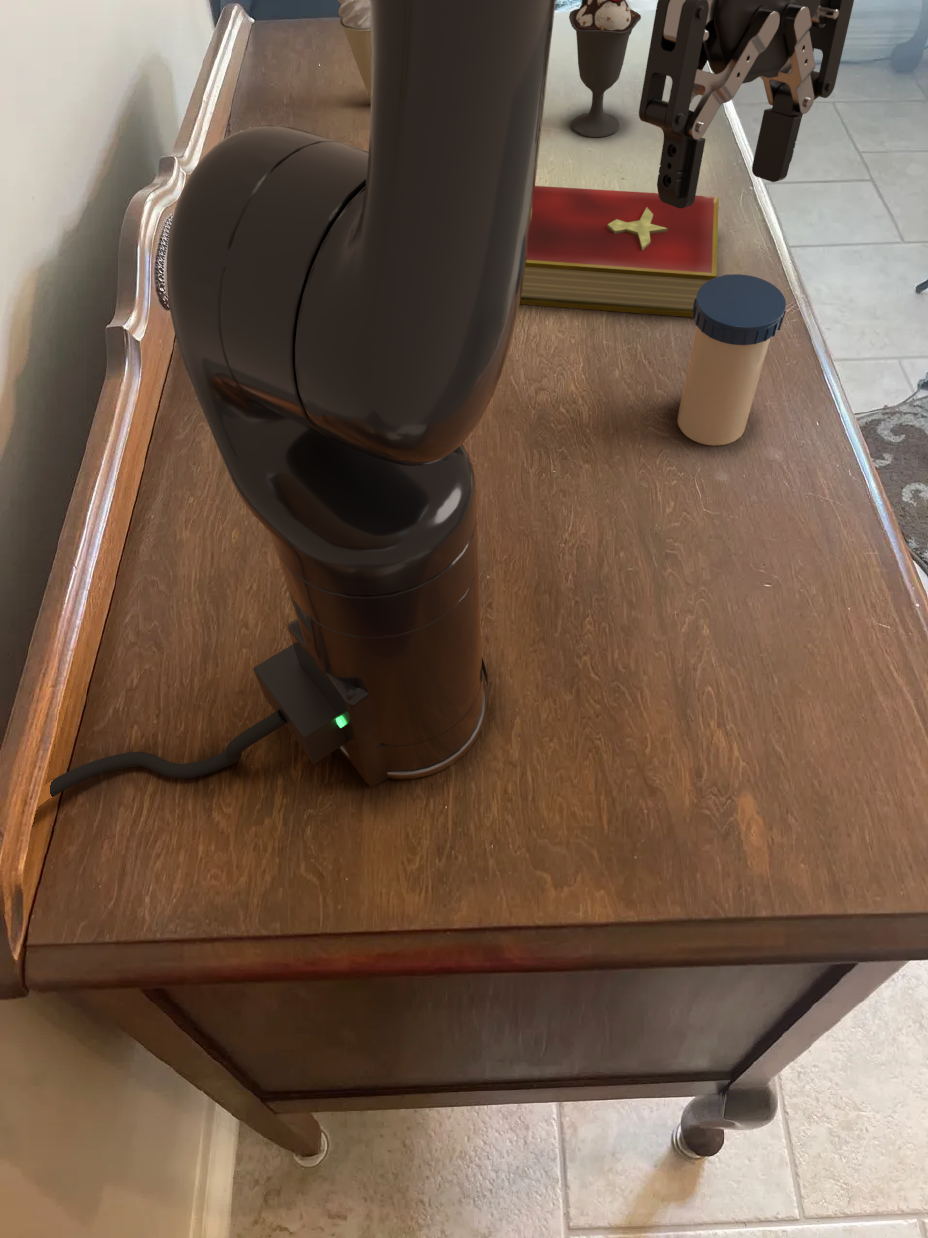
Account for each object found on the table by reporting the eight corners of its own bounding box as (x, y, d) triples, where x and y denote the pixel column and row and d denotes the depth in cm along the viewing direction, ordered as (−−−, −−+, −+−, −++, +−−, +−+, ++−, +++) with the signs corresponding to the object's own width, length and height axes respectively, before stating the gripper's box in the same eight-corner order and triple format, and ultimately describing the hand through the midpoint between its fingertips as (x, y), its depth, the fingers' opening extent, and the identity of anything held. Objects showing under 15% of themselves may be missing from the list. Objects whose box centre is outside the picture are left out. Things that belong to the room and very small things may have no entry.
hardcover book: (480, 220, 85) (479, 176, 82) (710, 235, 83) (719, 190, 79) (457, 298, 79) (455, 254, 75) (707, 318, 76) (717, 272, 72)
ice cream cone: (340, 106, 99) (317, -59, 87) (369, 87, 101) (351, -76, 89) (377, 118, 97) (359, -49, 85) (406, 98, 99) (392, -67, 87)
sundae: (625, 143, 92) (644, -29, 80) (559, 139, 93) (567, -32, 81) (631, 111, 96) (650, -58, 84) (568, 107, 97) (577, -60, 85)
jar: (711, 455, 67) (741, 339, 58) (663, 419, 69) (685, 302, 61) (759, 425, 68) (795, 308, 60) (710, 390, 71) (738, 273, 62)
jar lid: (738, 357, 59) (743, 339, 58) (673, 314, 62) (677, 296, 60) (800, 321, 61) (806, 303, 60) (734, 281, 64) (739, 262, 62)
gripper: (760, -153, 39) (690, 233, 50) (942, -157, 46) (845, 185, 57) (634, -162, 44) (595, 196, 55) (817, -165, 50) (750, 155, 61)
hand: (723, 190), depth 56 cm, fingers open, 8 cm apart
